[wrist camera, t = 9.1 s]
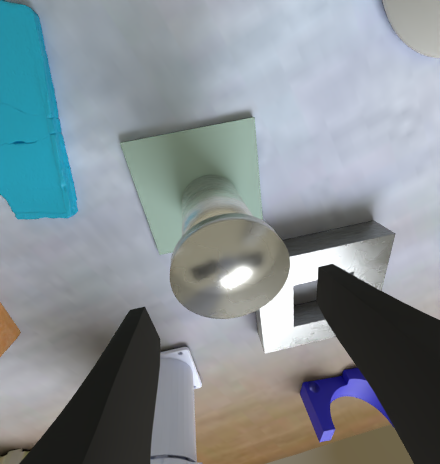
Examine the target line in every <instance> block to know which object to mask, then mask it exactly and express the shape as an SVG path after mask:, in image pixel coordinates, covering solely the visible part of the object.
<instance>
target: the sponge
mask: <svg viewBox="0 0 440 464" xmlns="http://www.w3.org/2000/svg"><path fill="white" fill-rule="evenodd" d="M58 117H59V116H58V109H57V102H56V98H55V91H54V87H53V83H52V78H51V73H50V68H49V64H48V58H47V54H46V51H45V45H44V39H43V34H42V28H41V24H40V20H39V17H38V15H37V14H36V13H35V12H34V11H33V10H32V9H31V8H30V7H28V6H26V5H22V4H17V3H11V2H7V1H5V0H0V195H2V196H3V197H4V198H5V199H6V200H7V202H8V204H9V206H10V207H11V209H12V211H13V212H14V213H15V217H16V218H17V219H39V218H43V217H48V218H70V217H71V216H73V215H74V214H76V213H77V211H78V209H77V202H76V200H77V197H76V193H75V187H74V182H73V179H72V174H71V168H70V165H69V162H68V156H67V153H66V149H65V144H64V141H63V139H64V138H63V136H62V134H61V127H60V120H59V119H58Z"/></svg>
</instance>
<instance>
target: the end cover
mask: <svg viewBox="0 0 440 464" xmlns="http://www.w3.org/2000/svg"><path fill="white" fill-rule="evenodd" d="M289 270H290V257H289V253H288V250H287V248H286V246H285V244H284V242H283V241H282V240H281V238H280V237H279V235H278V234H277V233H276V232H275V230H274V229H273V228H272V227H271V226H270V225H269V224H267V223H266V222H264V221H263V220H261V219H259V218H257V217H254V216H253V215H252V214H251V212H250V211H249V209H248V207H247V206H246V204H245V203H244V201H243V200H242V198H241V196H240V195H239V193H238V192H237V190H236V188H235V187H234V186H233V184H232V183H231V182H230V181H229V180H227V179H226V178H224V177H221V176H218V175H204V176H201V177H199V178H196V179H195V180H193V181H192V182H191V183H190V184H189V185H188V186H187V188H186V189H185V191H184V193H183V196H182V237H181V238H180V240H179V241H178V243H177V245H176V246H175V248H174V251H173V254H172V258H171V266H170V283H171V288H172V291H173V293H174V295H175V297H176V298H177V299H178V301H179V302H180V303H181V304H182V305H183V306H184V307H186V308H187V309H188V310H190V311H192V312H194V313H196V314H198V315H201V316H204V317H208V318H215V319H229V318H236V317H240V316H244V315H247V314H250V313H252V312H255V311H257V310H258V309H260V308H262V307H263V306H265V305H267V304H268V303H269V302H270V301H272V300H273V299H274V298H275V297H276V296H277V294H278V293H279V292H280V291H281V289H282V288H283V286H284V285H285V282H286V280H287V278H288V275H289Z"/></svg>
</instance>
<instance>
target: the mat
mask: <svg viewBox="0 0 440 464" xmlns="http://www.w3.org/2000/svg"><path fill="white" fill-rule="evenodd" d="M120 145H121V148H122V150H123V153H124V156H125V159H126V162H127V164H128V167H129V170H130V173H131V176H132V178H133V181H134V184H135V187H136V190H137V192H138V195H139V198H140V201H141V204H142V206H143V209H144V212H145V215H146V217H147V220H148V223H149V226H150V229H151V231H152V234H153V237H154V240H155V243H156V245H157V248H158V251H159V254H160V255H162V254H167V253H171V252H173V251H174V248H175V246H176V245H177V243H178V241H179V240H180V238H181V237H182V196H183V193H184V191H185V189H186V188H187V186H188V185H189V184H190V183H191V182H192V181H193V180H195V179H196V178H199V177H201V176H204V175H218V176H221V177H224V178H226V179H227V180H229V181H230V182H231V183H232V184H233V186H234V187H235V188H236V190H237V192H238V193H239V195H240V196H241V198H242V200H243V201H244V203H245V204H246V206H247V207H248V209H249V211H250V212H251V214H252V215H253V216H254V217H257V218H259V219H261V220H263V217H262V205H261V193H260V180H259V168H258V155H257V143H256V131H255V118H254V117H251V118H246V119H240V120H235V121H230V122H225V123H220V124H215V125H209V126H204V127H199V128H194V129H189V130H184V131H178V132H173V133H168V134H163V135H158V136H153V137H147V138H142V139H137V140H132V141H127V142H122V143H120Z"/></svg>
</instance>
